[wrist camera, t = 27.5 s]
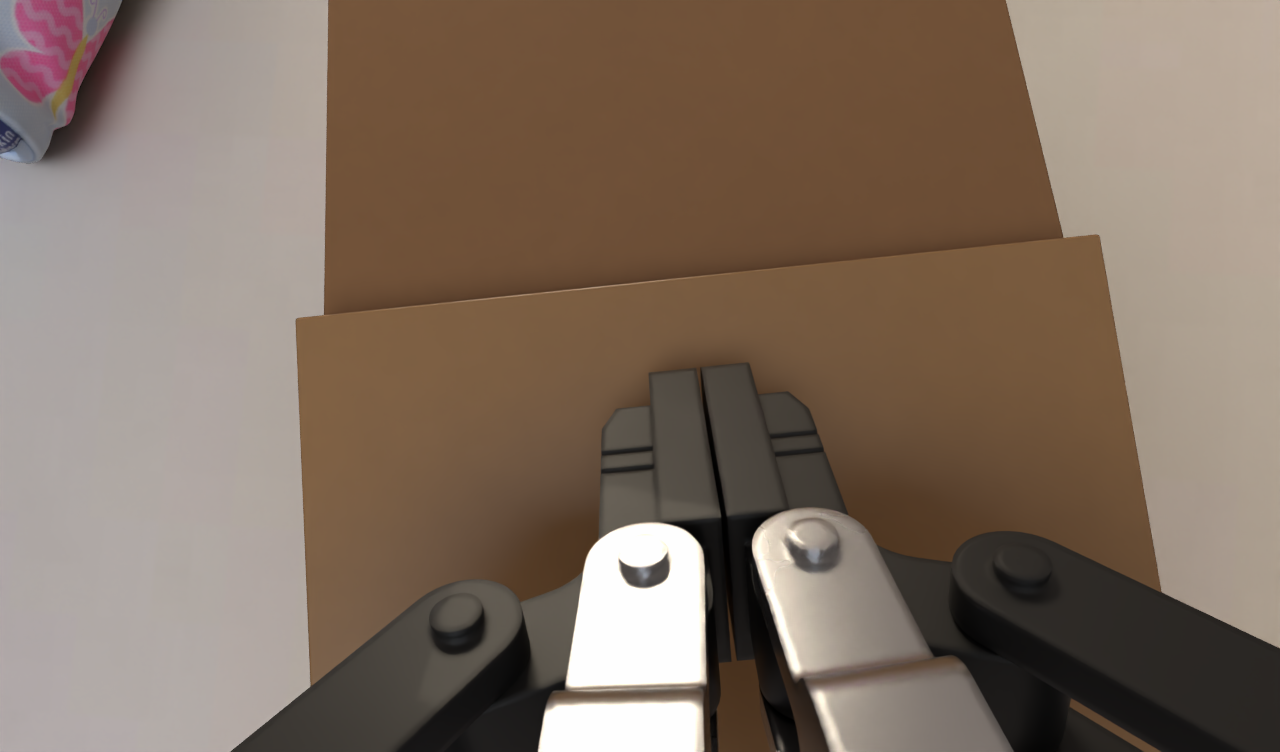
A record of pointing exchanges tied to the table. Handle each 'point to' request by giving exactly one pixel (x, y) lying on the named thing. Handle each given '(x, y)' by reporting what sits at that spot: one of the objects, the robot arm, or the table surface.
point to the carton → (664, 141)
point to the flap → (692, 338)
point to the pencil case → (45, 67)
